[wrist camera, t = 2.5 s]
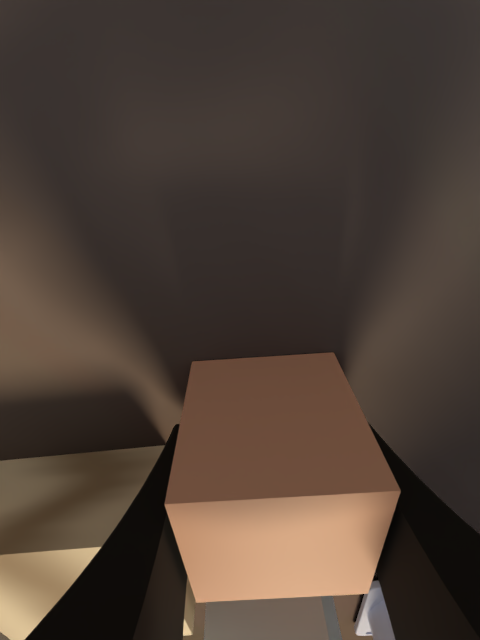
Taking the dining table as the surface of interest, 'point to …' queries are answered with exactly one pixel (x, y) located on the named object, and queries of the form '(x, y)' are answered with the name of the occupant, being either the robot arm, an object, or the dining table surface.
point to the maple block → (62, 526)
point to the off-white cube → (272, 619)
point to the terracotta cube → (277, 481)
